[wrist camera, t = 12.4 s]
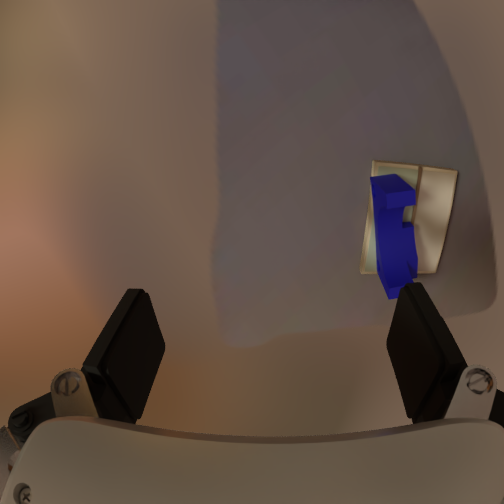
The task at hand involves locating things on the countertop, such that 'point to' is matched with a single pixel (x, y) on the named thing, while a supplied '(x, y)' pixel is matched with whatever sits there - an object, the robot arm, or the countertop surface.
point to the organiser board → (416, 212)
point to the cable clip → (393, 233)
